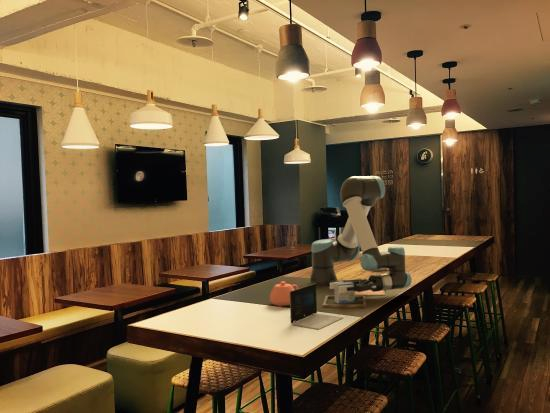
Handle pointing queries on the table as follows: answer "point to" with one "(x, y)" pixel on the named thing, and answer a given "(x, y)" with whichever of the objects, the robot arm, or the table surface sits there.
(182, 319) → the table surface
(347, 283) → the medicine box
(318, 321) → the laptop
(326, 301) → the walnut frame
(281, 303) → the sugar bowl
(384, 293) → the terracotta mat
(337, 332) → the table surface
